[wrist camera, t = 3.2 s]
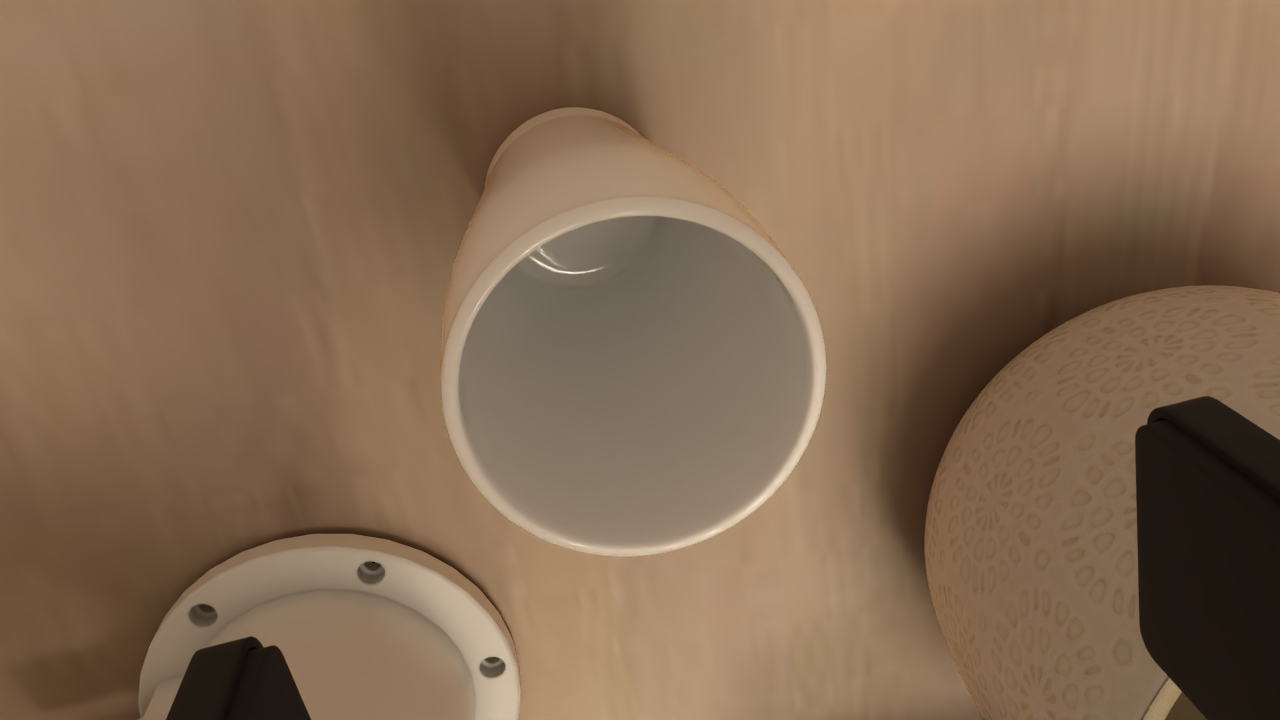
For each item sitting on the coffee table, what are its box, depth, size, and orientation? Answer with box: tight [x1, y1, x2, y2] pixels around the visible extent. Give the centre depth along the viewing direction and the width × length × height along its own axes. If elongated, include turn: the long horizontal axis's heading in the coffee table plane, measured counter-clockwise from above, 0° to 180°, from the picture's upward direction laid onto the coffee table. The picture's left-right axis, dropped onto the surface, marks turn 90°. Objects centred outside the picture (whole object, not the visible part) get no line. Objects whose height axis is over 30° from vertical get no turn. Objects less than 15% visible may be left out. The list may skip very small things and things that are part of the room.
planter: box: [925, 285, 1280, 720], centre depth 31 cm, size 17×17×15 cm
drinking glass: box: [441, 107, 827, 557], centre depth 25 cm, size 7×7×15 cm
